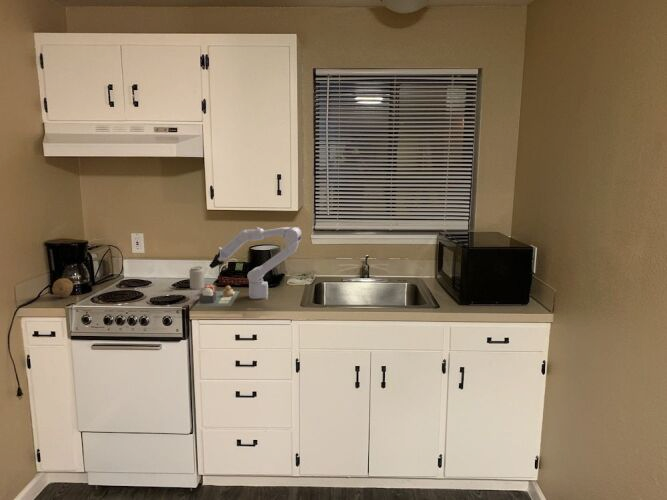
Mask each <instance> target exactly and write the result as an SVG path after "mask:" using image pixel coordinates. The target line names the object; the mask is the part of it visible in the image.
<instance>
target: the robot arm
mask: <svg viewBox="0 0 667 500" xmlns="http://www.w3.org/2000/svg"><path fill="white" fill-rule="evenodd" d="M278 236H280V237H281V238H283V239H285V242H286V246H285V248H283V249H282V250H280V251H279V252H278V253H276V254H275V255H273V256H272V257H271V258H269V259H268V260H266V261H265V262H264V263H263V264H261V265H260V266H256V267H254V268H252V270H250V271H248V273H247V280H248V298H249V299H252V300H253V299H254V300H259V299H266V301H267V300H268V298H269V284H268V283H269V282H268V281H264V277H265V275H266V274H267V273H268V272H269V271H271V270H273V268H275V267H276V266H278V265H280V264H281V262H283V261H285V260H286V259H287V258H289V257H290V256H292V255H293V254H294V253H296V251H297V250H298V247H299V245H300V242H301V240H302V230H301V229H300V227H299V226H298V227H297V226H294V227H291V226H286V227H285V226H284V227H277V228H272V229H271V228H270V229H263V228H261V227H259V226H257V227H256V228H254V229H250V228H247V229H244V230H241V231H239V232H238V233H237V234H236V236H235V237H233V238H232V239H231V240H230V241H228V242H227V243H226V244H225V245H224V246H223V247H221V246H219V247H218V250H219V251H218V254H215V256H214V257H213V260H212V261H211V262H210V264H209V265H208V266H209V267H210V268H211V269H213V268H214V269H215V268H216V267H218V266H220V265H221V266H222V265H224V264H225V262H224V261H223V260H228V259H229V258H231V256H232V255H234V253H236V252H237V251H238V250H239V249H240V248H242V247H243V245H244V244H245V243H247V242H255V241H262V240H264V239H265V237H278Z"/></svg>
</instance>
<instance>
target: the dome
mask: <svg viewBox="0 0 667 500" xmlns="http://www.w3.org/2000/svg"><path fill="white" fill-rule="evenodd" d="M202 292H203V296H213V290H212V289H211V288H205V287H204V288H203V289H202Z"/></svg>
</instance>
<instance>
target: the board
mask: <svg viewBox="0 0 667 500" xmlns="http://www.w3.org/2000/svg"><path fill="white" fill-rule="evenodd" d="M239 293H240V291H238V290H235V291H234V290H233V296H232V297H224V296H223V290H214V292H213V296H203V291H202V292H201V294H199V299H198V301H197V302H196V303H195V304H194V306H195V307H231V306H232V305H233V303H234V302H235V300H236V299H237V297H238V296H239Z"/></svg>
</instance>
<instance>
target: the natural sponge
mask: <svg viewBox="0 0 667 500" xmlns="http://www.w3.org/2000/svg"><path fill="white" fill-rule="evenodd" d="M73 289H74V284H73V282H72V280H71V279H69V278H64V277H61V278H58V279H57V280H55V281H54V283H53V284H52V288H51V290H52V293H53V294H54V295H55V296H58V297H60V298H63V299H66V298H68V297H69V296H70V295H71V293H73Z"/></svg>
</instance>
